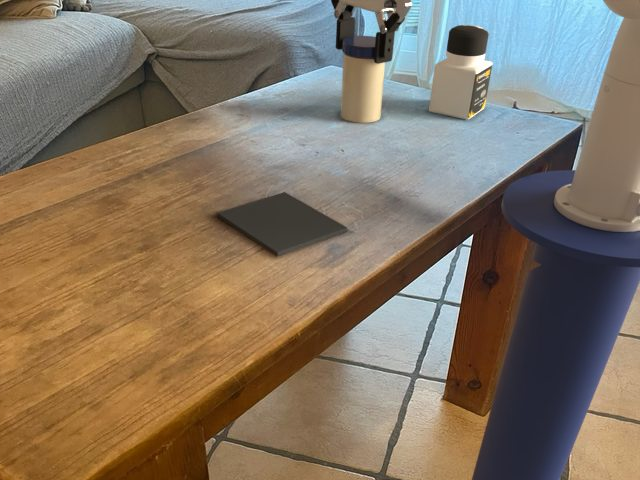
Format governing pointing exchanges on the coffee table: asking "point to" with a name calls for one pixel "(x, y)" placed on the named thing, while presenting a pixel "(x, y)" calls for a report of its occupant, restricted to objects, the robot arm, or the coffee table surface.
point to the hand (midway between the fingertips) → (363, 54)
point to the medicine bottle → (462, 74)
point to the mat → (281, 223)
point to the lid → (359, 46)
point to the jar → (361, 89)
